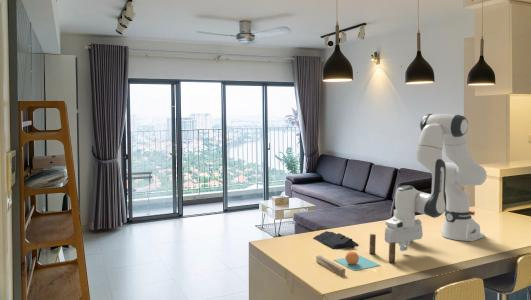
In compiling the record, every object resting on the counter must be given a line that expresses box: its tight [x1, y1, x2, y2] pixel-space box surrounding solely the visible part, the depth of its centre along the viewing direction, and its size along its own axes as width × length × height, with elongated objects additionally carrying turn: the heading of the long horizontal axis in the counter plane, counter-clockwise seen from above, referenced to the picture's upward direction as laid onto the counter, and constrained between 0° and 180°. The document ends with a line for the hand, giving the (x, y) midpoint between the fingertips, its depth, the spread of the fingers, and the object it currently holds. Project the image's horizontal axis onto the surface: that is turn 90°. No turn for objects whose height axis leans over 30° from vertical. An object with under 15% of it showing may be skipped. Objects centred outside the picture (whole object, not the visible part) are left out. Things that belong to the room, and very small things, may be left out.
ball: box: [345, 250, 359, 265], centre depth 180 cm, size 6×6×6 cm
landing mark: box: [333, 254, 381, 272], centre depth 181 cm, size 14×14×1 cm
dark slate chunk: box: [312, 230, 359, 250], centre depth 211 cm, size 15×22×5 cm
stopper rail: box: [315, 255, 346, 277], centre depth 175 cm, size 2×18×2 cm, turn 26°
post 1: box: [369, 233, 377, 256], centre depth 193 cm, size 3×3×9 cm
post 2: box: [388, 241, 397, 265], centre depth 182 cm, size 3×3×9 cm
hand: (403, 250), depth 193 cm, fingers closed
